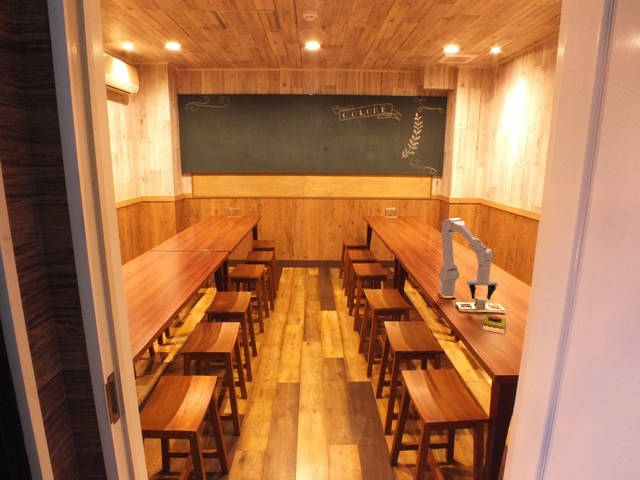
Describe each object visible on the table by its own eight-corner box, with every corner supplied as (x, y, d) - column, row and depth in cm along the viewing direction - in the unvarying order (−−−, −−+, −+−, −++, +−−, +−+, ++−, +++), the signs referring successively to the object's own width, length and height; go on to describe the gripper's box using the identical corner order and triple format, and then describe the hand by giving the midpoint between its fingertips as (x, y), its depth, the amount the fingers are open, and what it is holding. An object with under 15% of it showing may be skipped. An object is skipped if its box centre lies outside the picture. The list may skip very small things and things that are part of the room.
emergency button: (507, 314, 186) (505, 326, 173) (506, 323, 187) (503, 335, 174) (486, 310, 190) (482, 322, 177) (485, 319, 191) (481, 331, 178)
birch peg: (474, 308, 203) (475, 297, 202) (482, 308, 203) (483, 297, 202) (476, 311, 200) (477, 299, 198) (484, 311, 199) (486, 300, 198)
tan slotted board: (455, 305, 206) (455, 302, 206) (498, 307, 204) (499, 303, 204) (459, 311, 198) (460, 308, 198) (504, 313, 197) (505, 309, 196)
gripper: (470, 275, 194) (468, 301, 197) (501, 276, 193) (498, 302, 196) (466, 270, 201) (464, 296, 204) (496, 271, 200) (493, 297, 203)
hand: (480, 298), depth 200 cm, fingers open, 7 cm apart
